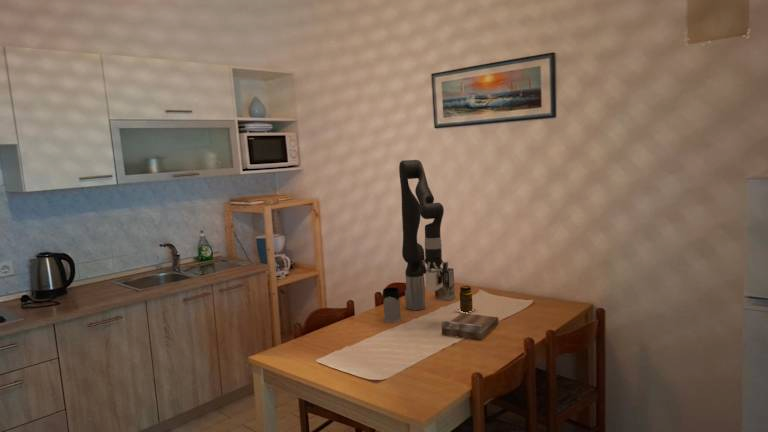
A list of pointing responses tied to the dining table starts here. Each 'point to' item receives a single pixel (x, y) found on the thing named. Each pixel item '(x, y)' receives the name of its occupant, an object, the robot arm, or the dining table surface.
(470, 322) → the grey rectangular slab
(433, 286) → the tea box
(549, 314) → the dining table surface
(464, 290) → the condiment
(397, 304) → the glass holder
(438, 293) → the coffee box
